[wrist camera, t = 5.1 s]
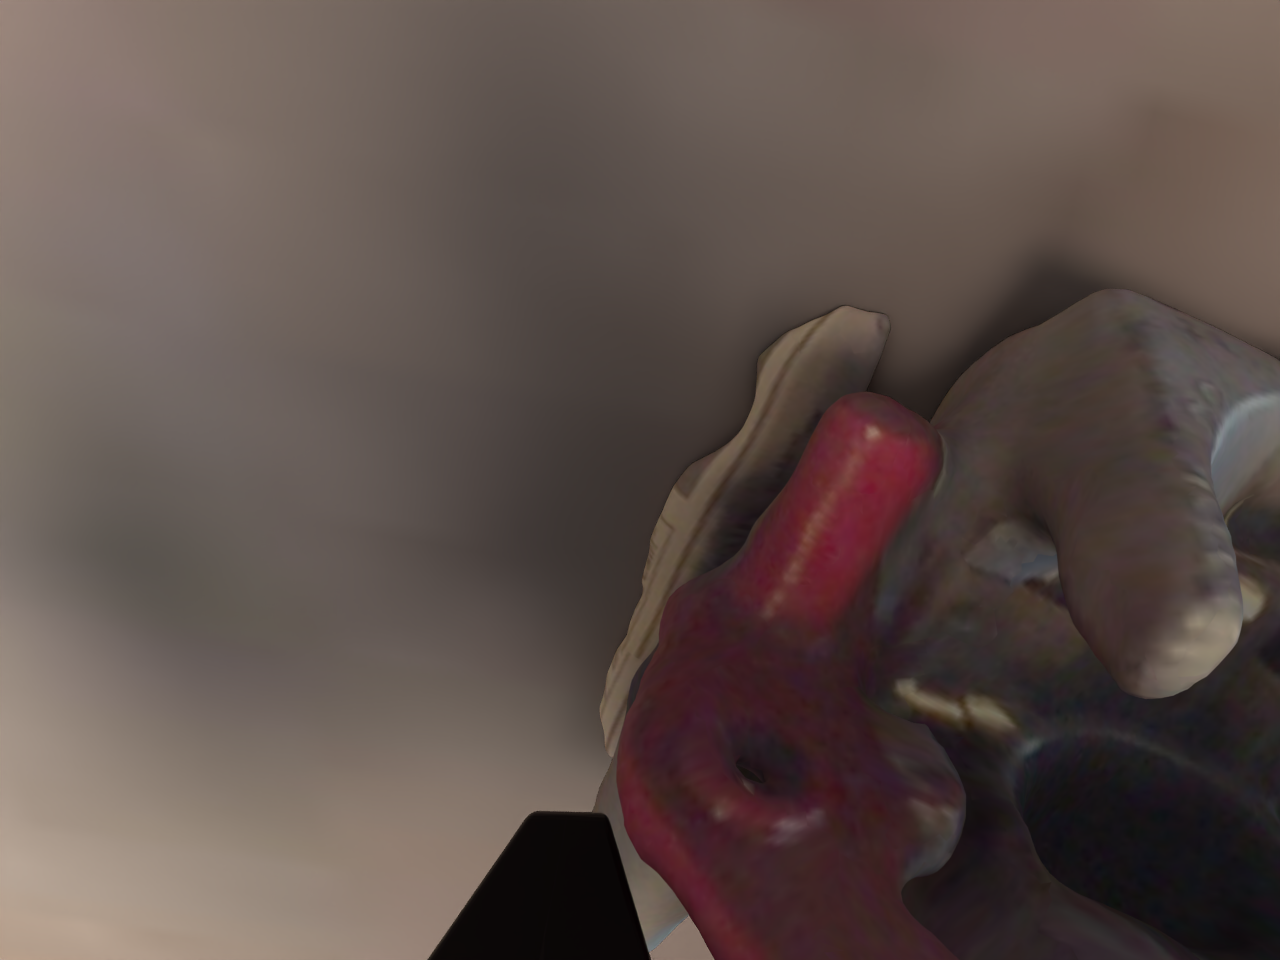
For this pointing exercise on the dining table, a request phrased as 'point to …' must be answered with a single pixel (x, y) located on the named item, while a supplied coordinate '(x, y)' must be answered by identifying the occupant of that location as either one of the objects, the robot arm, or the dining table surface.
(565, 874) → the robot arm
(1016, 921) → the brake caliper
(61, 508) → the dining table surface
